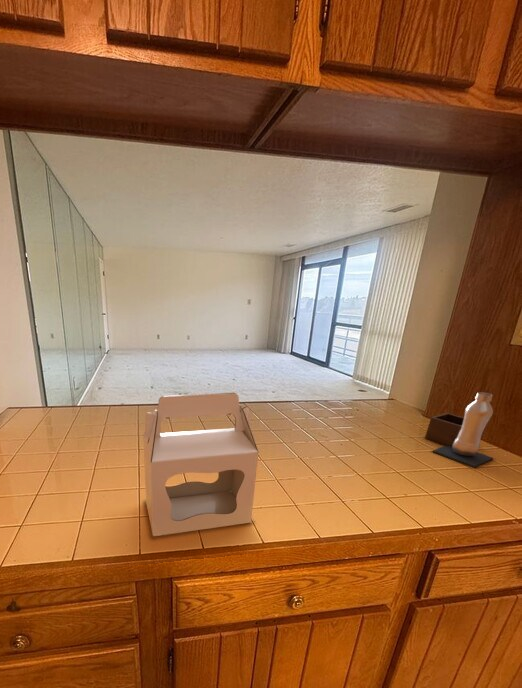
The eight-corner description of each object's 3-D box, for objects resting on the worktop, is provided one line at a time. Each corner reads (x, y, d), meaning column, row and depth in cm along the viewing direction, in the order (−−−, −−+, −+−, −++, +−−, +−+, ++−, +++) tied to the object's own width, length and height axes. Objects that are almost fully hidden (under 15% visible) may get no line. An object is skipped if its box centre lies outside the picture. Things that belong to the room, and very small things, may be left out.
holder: (440, 433, 128) (447, 412, 125) (469, 442, 121) (477, 421, 118) (424, 438, 124) (431, 417, 120) (453, 448, 116) (461, 426, 113)
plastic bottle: (450, 447, 115) (470, 389, 107) (475, 453, 111) (498, 393, 103) (449, 454, 110) (470, 394, 102) (476, 460, 106) (500, 398, 99)
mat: (451, 445, 118) (452, 443, 118) (492, 459, 109) (493, 457, 109) (432, 452, 113) (432, 450, 113) (474, 467, 103) (474, 466, 103)
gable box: (232, 491, 88) (240, 383, 77) (252, 522, 76) (265, 401, 65) (144, 501, 83) (140, 388, 72) (151, 537, 71) (147, 408, 60)
